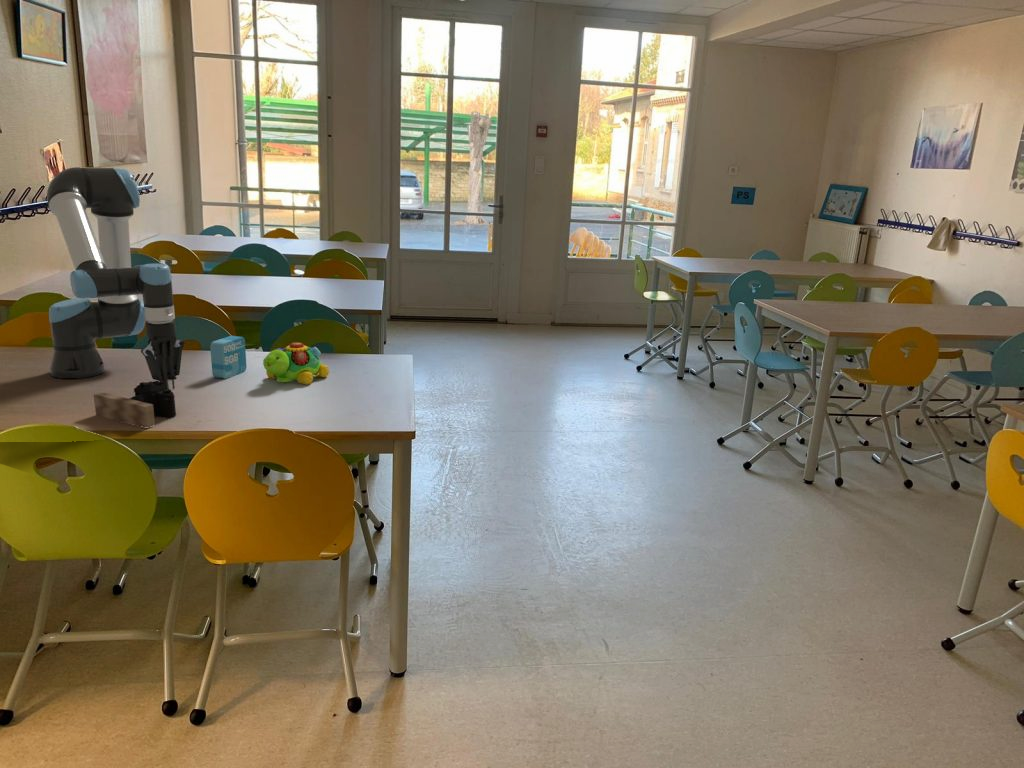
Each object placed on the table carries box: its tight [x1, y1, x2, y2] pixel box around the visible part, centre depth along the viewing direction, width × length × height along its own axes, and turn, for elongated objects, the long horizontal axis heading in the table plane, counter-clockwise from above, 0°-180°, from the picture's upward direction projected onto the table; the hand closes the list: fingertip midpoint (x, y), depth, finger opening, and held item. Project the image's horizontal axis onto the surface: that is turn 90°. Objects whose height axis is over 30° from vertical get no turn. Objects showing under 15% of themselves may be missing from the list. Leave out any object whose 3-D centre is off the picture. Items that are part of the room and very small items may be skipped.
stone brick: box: [93, 391, 156, 428], centre depth 200 cm, size 20×2×6 cm, turn 64°
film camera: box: [128, 380, 177, 419], centre depth 204 cm, size 15×10×9 cm, turn 58°
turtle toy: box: [262, 341, 330, 385], centre depth 241 cm, size 17×23×12 cm
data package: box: [209, 335, 247, 380], centre depth 244 cm, size 12×4×12 cm, turn 163°
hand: (168, 401), depth 213 cm, fingers closed
